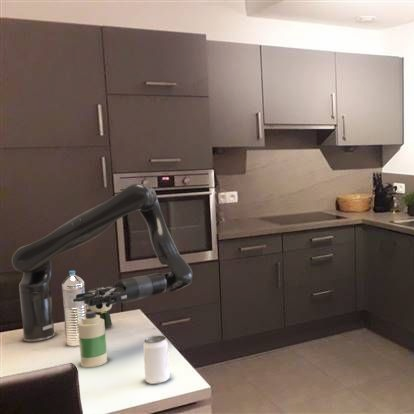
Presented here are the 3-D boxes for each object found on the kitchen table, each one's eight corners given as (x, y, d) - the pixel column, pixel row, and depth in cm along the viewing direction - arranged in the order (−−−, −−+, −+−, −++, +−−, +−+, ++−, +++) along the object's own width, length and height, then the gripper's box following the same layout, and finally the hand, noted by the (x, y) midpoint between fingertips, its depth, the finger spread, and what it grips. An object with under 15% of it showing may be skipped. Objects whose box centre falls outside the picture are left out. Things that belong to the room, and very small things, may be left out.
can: (149, 375, 158) (147, 335, 157) (172, 374, 159) (170, 334, 157) (142, 385, 152) (139, 343, 150) (166, 383, 152) (163, 342, 151)
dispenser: (100, 356, 173) (96, 307, 171) (111, 361, 169) (108, 311, 167) (76, 363, 168) (72, 313, 166) (87, 369, 163) (83, 317, 161)
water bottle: (79, 347, 181) (73, 273, 178) (61, 346, 183) (55, 273, 180) (93, 340, 188) (88, 269, 185) (76, 339, 189) (70, 268, 186)
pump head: (92, 305, 168) (91, 293, 168) (97, 307, 166) (96, 294, 166) (71, 310, 163) (70, 297, 163) (76, 312, 161) (75, 299, 161)
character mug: (90, 333, 195) (87, 298, 193) (83, 328, 200) (80, 294, 198) (121, 326, 202) (119, 292, 201) (114, 321, 207) (112, 288, 206)
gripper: (122, 274, 181) (70, 284, 168) (145, 280, 172) (92, 292, 159) (123, 296, 182) (72, 308, 169) (146, 303, 173) (94, 317, 160)
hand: (82, 300), depth 164 cm, fingers open, 7 cm apart
